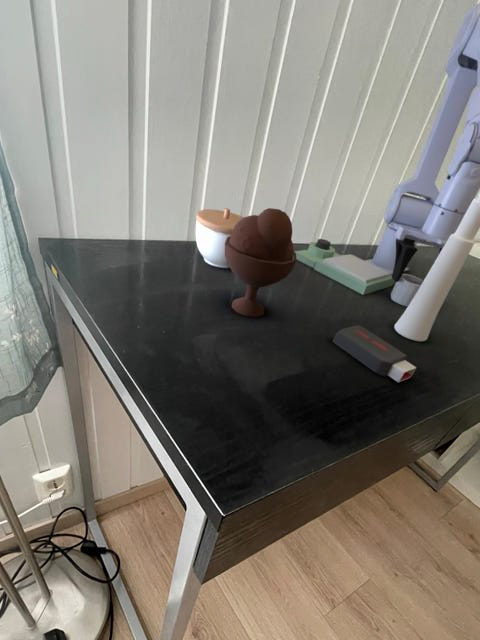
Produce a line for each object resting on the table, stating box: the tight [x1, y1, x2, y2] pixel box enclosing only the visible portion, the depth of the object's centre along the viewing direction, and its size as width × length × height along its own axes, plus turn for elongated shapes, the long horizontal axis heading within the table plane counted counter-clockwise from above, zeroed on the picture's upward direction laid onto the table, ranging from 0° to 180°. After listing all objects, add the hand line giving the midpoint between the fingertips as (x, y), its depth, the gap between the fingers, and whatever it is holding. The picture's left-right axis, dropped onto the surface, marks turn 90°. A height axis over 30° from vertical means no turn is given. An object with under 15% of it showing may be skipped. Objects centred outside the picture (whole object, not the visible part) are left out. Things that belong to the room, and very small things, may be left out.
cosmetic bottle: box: [393, 191, 480, 342], centre depth 60 cm, size 6×6×22 cm
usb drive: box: [332, 324, 417, 384], centre depth 56 cm, size 5×12×3 cm, turn 36°
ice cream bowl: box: [225, 207, 298, 318], centre depth 57 cm, size 11×11×15 cm
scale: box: [313, 253, 395, 296], centre depth 83 cm, size 13×13×3 cm
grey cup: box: [390, 273, 424, 308], centre depth 77 cm, size 6×6×4 cm
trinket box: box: [195, 207, 245, 269], centre depth 71 cm, size 11×11×9 cm
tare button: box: [316, 238, 331, 250], centre depth 85 cm, size 3×3×2 cm
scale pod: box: [294, 241, 343, 269], centre depth 87 cm, size 12×6×3 cm, turn 134°
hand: (411, 283), depth 76 cm, fingers open, 7 cm apart
